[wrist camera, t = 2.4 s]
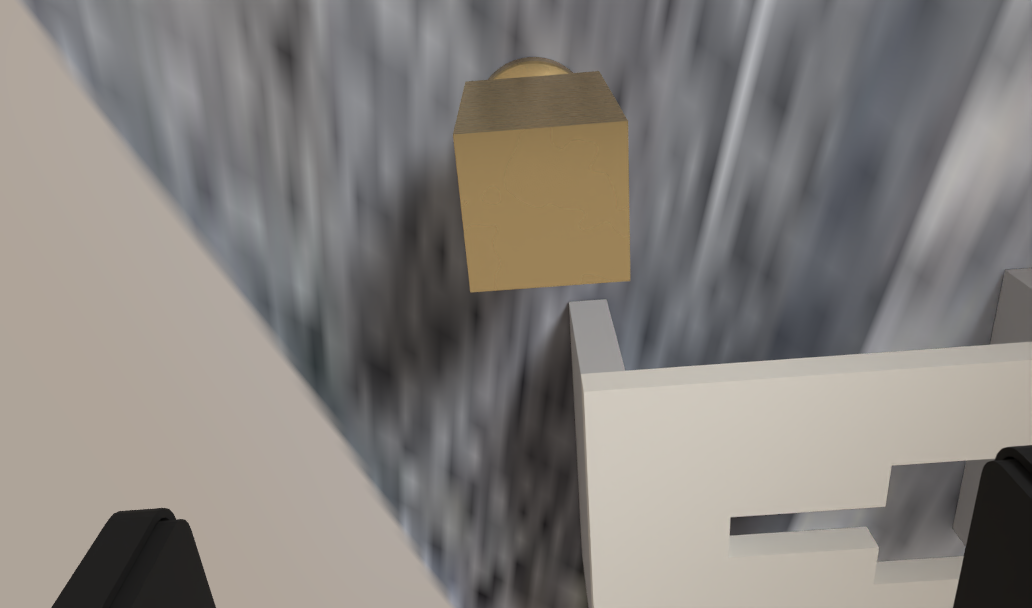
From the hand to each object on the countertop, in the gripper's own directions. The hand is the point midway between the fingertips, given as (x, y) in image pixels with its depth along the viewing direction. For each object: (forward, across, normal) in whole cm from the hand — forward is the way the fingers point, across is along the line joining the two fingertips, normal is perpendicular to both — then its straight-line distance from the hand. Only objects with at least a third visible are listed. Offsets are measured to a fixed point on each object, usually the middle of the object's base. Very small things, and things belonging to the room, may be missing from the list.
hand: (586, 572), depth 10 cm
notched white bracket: (+24, -11, +15) cm, 30 cm away
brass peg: (+24, 0, 0) cm, 24 cm away
